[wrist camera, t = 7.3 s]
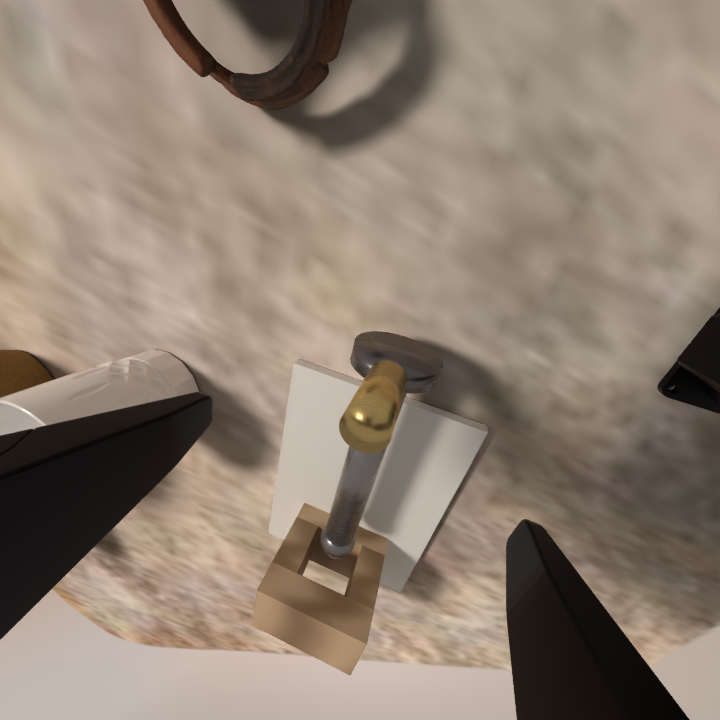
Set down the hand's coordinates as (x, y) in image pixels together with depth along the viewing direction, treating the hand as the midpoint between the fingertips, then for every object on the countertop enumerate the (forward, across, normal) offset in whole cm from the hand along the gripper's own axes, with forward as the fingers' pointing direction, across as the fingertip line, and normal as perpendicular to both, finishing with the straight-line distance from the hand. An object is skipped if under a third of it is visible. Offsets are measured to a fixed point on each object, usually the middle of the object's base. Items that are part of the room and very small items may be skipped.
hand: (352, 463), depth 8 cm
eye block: (+12, 0, +21) cm, 24 cm away
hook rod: (+10, 0, +8) cm, 13 cm away
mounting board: (+12, 0, +15) cm, 19 cm away
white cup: (+13, +19, +12) cm, 26 cm away
